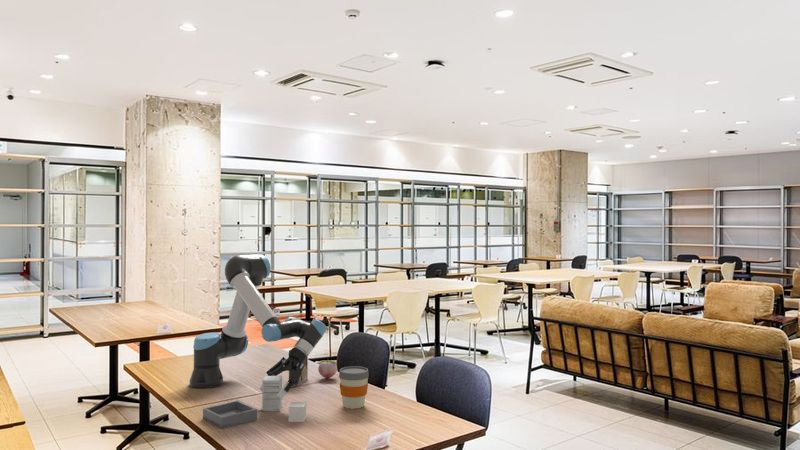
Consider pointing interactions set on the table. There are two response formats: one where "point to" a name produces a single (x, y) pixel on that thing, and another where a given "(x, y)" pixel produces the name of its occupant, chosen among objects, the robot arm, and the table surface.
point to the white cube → (297, 411)
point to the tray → (229, 414)
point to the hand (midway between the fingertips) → (269, 394)
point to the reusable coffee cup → (353, 386)
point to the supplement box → (271, 393)
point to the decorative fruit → (327, 368)
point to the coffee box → (303, 372)
